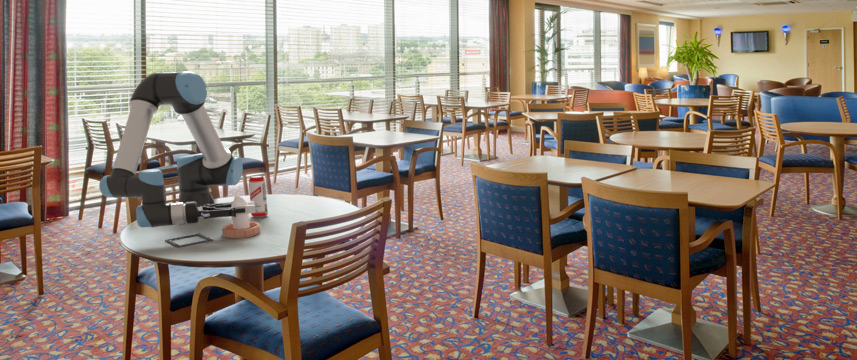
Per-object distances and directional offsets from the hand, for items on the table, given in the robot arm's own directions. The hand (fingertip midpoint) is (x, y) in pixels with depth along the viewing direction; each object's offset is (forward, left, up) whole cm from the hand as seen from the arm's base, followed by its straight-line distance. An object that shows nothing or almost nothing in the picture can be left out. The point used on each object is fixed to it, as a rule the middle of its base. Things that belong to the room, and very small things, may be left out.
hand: (254, 207), depth 237 cm
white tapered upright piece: (-2, -5, -7) cm, 9 cm away
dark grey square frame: (-7, -22, -9) cm, 25 cm away
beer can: (-22, +12, -9) cm, 27 cm away
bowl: (-2, -5, -9) cm, 11 cm away
